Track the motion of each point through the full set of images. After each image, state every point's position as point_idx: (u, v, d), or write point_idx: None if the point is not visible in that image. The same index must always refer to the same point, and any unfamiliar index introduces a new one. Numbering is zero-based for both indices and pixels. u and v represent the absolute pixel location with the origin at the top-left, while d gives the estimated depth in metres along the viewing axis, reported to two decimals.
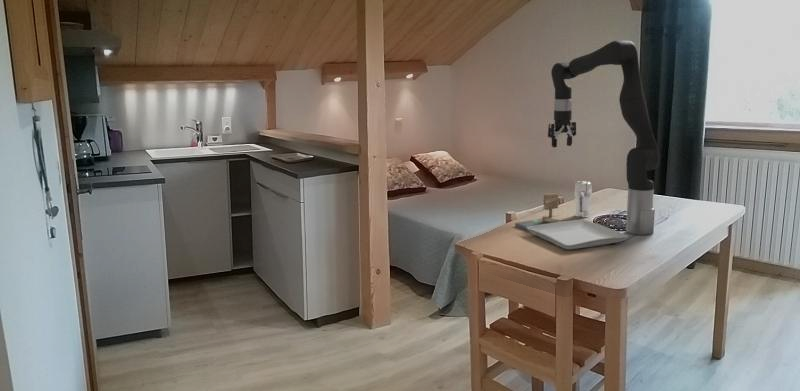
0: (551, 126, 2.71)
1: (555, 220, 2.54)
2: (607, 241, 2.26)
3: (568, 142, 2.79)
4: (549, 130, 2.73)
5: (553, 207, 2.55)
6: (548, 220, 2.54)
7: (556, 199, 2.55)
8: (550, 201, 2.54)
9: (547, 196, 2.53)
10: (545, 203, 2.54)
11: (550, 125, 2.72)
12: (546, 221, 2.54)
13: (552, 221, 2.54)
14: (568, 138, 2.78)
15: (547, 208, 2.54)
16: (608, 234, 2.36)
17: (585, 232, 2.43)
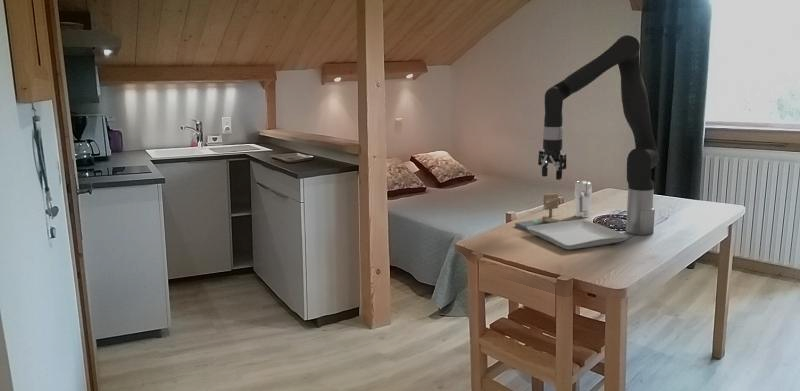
0: (565, 157, 2.46)
1: (555, 220, 2.54)
2: (607, 241, 2.26)
3: (545, 172, 2.56)
4: (563, 161, 2.45)
5: (553, 207, 2.55)
6: (548, 220, 2.54)
7: (556, 199, 2.55)
8: (550, 201, 2.54)
9: (547, 196, 2.53)
10: (545, 203, 2.54)
11: (563, 156, 2.45)
12: (546, 221, 2.54)
13: (552, 221, 2.54)
14: (545, 168, 2.56)
15: (547, 208, 2.54)
16: (608, 234, 2.36)
17: (585, 232, 2.43)
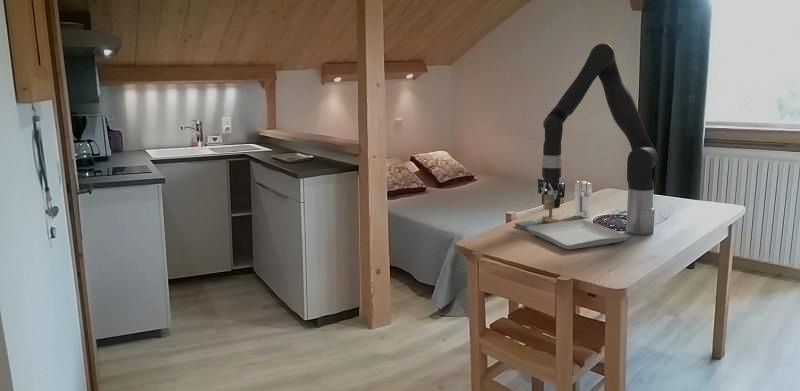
0: (563, 186, 2.48)
1: (555, 220, 2.54)
2: (607, 241, 2.26)
3: None
4: (561, 191, 2.48)
5: (553, 207, 2.55)
6: (548, 220, 2.54)
7: None
8: (550, 201, 2.54)
9: (547, 196, 2.53)
10: (545, 203, 2.54)
11: (562, 185, 2.48)
12: (546, 221, 2.54)
13: (552, 221, 2.54)
14: None
15: (547, 208, 2.54)
16: (608, 234, 2.36)
17: (585, 232, 2.43)
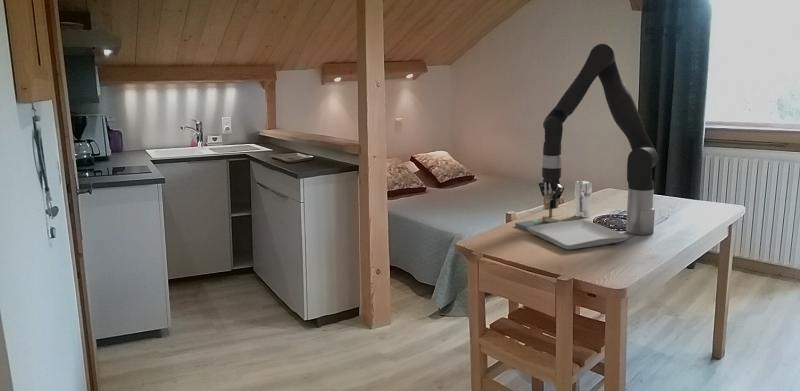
0: (562, 190, 2.49)
1: (555, 220, 2.54)
2: (607, 241, 2.26)
3: None
4: (558, 193, 2.50)
5: None
6: (548, 220, 2.54)
7: (556, 199, 2.55)
8: None
9: (547, 196, 2.53)
10: (545, 203, 2.54)
11: (561, 189, 2.48)
12: (546, 221, 2.54)
13: (552, 221, 2.54)
14: None
15: (547, 208, 2.54)
16: (608, 234, 2.36)
17: (585, 232, 2.43)
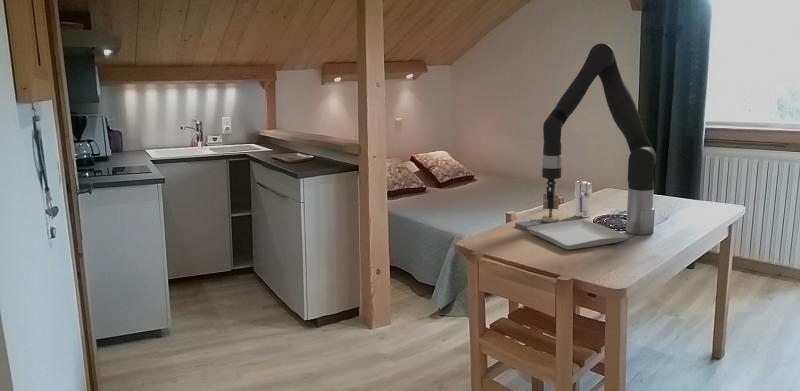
0: (551, 190, 2.48)
1: (550, 220, 2.54)
2: (607, 241, 2.26)
3: None
4: (548, 194, 2.50)
5: None
6: (543, 219, 2.55)
7: (556, 200, 2.54)
8: None
9: (544, 195, 2.54)
10: (543, 202, 2.56)
11: (549, 189, 2.48)
12: (542, 220, 2.56)
13: (546, 220, 2.54)
14: None
15: (544, 207, 2.55)
16: (608, 234, 2.36)
17: (585, 232, 2.43)
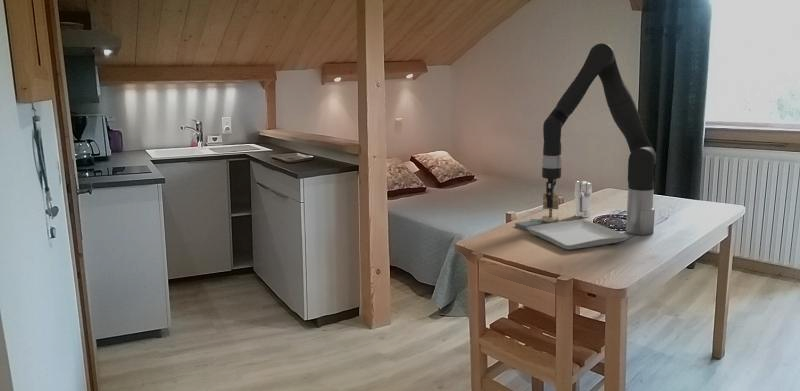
0: (551, 186, 2.47)
1: (549, 220, 2.54)
2: (607, 241, 2.26)
3: None
4: (548, 190, 2.48)
5: (552, 207, 2.55)
6: (543, 219, 2.56)
7: (556, 200, 2.53)
8: None
9: (544, 195, 2.55)
10: (543, 202, 2.56)
11: (549, 185, 2.47)
12: (542, 220, 2.57)
13: (546, 220, 2.54)
14: None
15: (544, 207, 2.56)
16: (608, 234, 2.36)
17: (585, 232, 2.43)
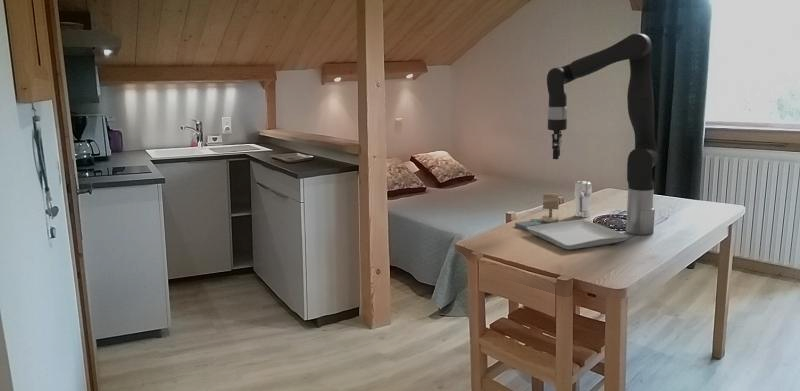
0: (557, 136, 2.49)
1: (549, 220, 2.54)
2: (607, 241, 2.26)
3: None
4: (554, 141, 2.49)
5: (552, 207, 2.55)
6: (543, 219, 2.56)
7: (556, 200, 2.53)
8: (548, 201, 2.55)
9: (544, 195, 2.55)
10: (543, 202, 2.56)
11: (555, 135, 2.49)
12: (542, 220, 2.57)
13: (545, 220, 2.55)
14: None
15: (544, 207, 2.56)
16: (608, 234, 2.36)
17: (585, 232, 2.43)
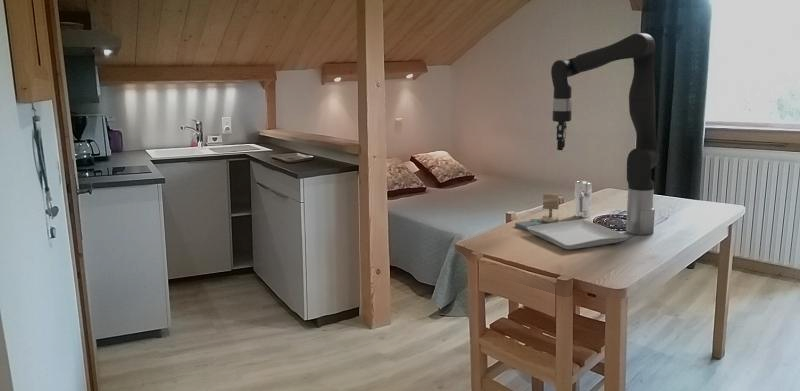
0: (561, 128, 2.52)
1: (549, 220, 2.54)
2: (607, 241, 2.26)
3: None
4: (558, 132, 2.53)
5: (552, 207, 2.55)
6: (543, 219, 2.56)
7: (556, 200, 2.53)
8: (548, 201, 2.55)
9: (544, 195, 2.55)
10: (543, 202, 2.56)
11: (560, 127, 2.53)
12: (542, 220, 2.57)
13: (545, 220, 2.55)
14: None
15: (544, 207, 2.56)
16: (608, 234, 2.36)
17: (585, 232, 2.43)
